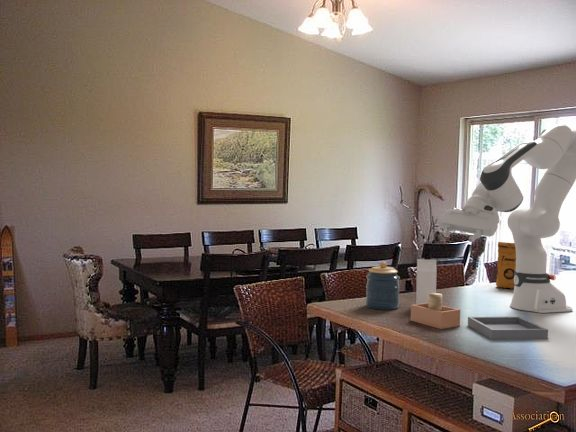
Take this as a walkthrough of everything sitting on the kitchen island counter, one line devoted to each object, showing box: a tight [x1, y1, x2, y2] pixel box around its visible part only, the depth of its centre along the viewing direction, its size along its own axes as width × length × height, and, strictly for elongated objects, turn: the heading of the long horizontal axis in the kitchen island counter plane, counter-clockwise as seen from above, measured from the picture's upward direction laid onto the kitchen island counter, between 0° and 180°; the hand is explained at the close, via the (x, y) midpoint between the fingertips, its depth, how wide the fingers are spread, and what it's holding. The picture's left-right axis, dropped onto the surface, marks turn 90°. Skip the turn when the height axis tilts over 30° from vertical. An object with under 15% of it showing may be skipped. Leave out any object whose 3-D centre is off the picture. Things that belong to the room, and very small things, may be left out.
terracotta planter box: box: [410, 303, 461, 330], centre depth 193 cm, size 9×14×6 cm, turn 32°
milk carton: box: [415, 258, 438, 304], centre depth 217 cm, size 7×7×19 cm
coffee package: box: [495, 241, 516, 290], centre depth 268 cm, size 10×12×22 cm
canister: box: [365, 261, 401, 311], centre depth 220 cm, size 13×13×18 cm
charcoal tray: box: [467, 316, 549, 341], centre depth 182 cm, size 18×18×3 cm
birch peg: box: [428, 292, 443, 312], centre depth 193 cm, size 4×4×10 cm
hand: (458, 238), depth 196 cm, fingers open, 8 cm apart
